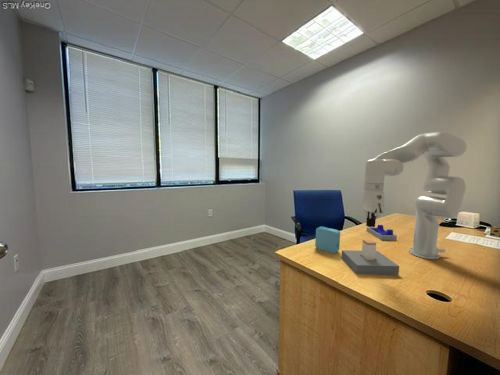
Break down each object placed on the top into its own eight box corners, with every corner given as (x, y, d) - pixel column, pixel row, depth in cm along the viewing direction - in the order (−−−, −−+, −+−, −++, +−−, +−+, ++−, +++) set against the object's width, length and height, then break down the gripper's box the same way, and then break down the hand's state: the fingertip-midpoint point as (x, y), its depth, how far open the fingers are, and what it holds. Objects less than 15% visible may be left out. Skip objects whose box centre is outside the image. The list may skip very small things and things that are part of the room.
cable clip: (374, 233, 148) (375, 224, 147) (381, 233, 148) (382, 224, 147) (385, 239, 136) (386, 230, 136) (392, 239, 136) (393, 230, 135)
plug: (369, 263, 101) (371, 239, 100) (374, 267, 97) (376, 242, 96) (361, 263, 101) (362, 239, 100) (365, 267, 97) (367, 242, 96)
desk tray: (380, 231, 151) (380, 227, 151) (396, 240, 133) (396, 235, 133) (366, 231, 151) (366, 227, 151) (381, 240, 134) (381, 235, 133)
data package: (339, 251, 115) (340, 230, 113) (335, 254, 112) (337, 232, 110) (318, 245, 123) (319, 225, 122) (314, 247, 120) (315, 227, 119)
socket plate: (377, 258, 107) (377, 250, 107) (398, 274, 91) (399, 266, 91) (341, 257, 107) (341, 250, 107) (356, 274, 91) (357, 265, 91)
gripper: (392, 189, 88) (389, 231, 90) (372, 185, 102) (369, 222, 104) (374, 188, 88) (371, 231, 90) (357, 185, 103) (354, 222, 105)
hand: (370, 226), depth 97 cm, fingers closed
